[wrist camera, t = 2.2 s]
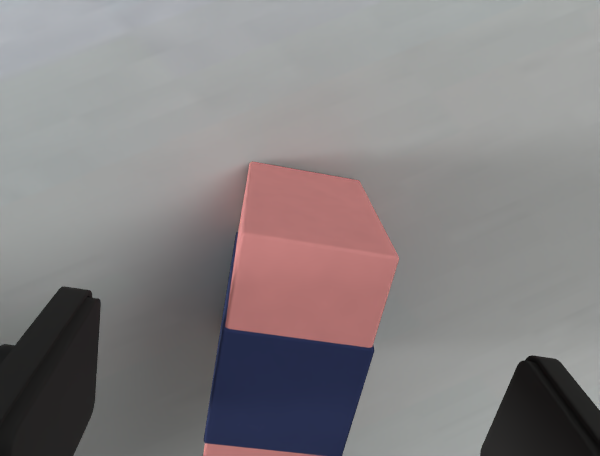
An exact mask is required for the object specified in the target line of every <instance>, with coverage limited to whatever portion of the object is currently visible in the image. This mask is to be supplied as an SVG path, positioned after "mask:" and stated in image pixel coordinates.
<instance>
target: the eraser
mask: <svg viewBox="0 0 600 456" xmlns="http://www.w3.org/2000/svg"><path fill="white" fill-rule="evenodd" d="M398 261H399V257H398V255H397V253H396V251H395V249H394V247H393V245H392V243H391V241H390V239H389V237H388V235H387V233H386V232H385V230H384V228H383V226H382V224H381V222H380V220H379V218H378V216H377V214H376V212H375V210H374V208H373V206H372V204H371V202H370V200H369V199H368V197H367V195H366V193H365V191H364V189H363V187H362V185H361V183H360V181H358V180H354V179H348V178H342V177H337V176H331V175H325V174H320V173H314V172H309V171H303V170H297V169H292V168H286V167H280V166H275V165H269V164H263V163H258V162H250V164H249V170H248V176H247V182H246V188H245V194H244V200H243V206H242V212H241V218H240V224H239V230H238V232H237V233H236V238H235V244H234V250H233V256H232V262H231V268H230V274H229V280H228V286H227V292H226V298H225V304H224V310H223V316H222V322H221V329H220V336H219V342H218V349H217V355H216V362H215V369H214V375H213V382H212V389H211V395H210V402H209V408H208V415H207V422H206V428H205V435H204V442H205V447H204V454H203V456H342V454H343V450H344V447H345V444H346V441H347V438H348V434H349V431H350V428H351V425H352V421H353V418H354V415H355V412H356V408H357V405H358V402H359V399H360V395H361V392H362V389H363V386H364V382H365V379H366V376H367V373H368V370H369V366H370V363H371V360H372V357H373V353H374V346H373V343H374V339H375V336H376V333H377V330H378V326H379V323H380V320H381V316H382V313H383V310H384V307H385V303H386V300H387V297H388V294H389V290H390V287H391V284H392V281H393V277H394V274H395V271H396V267H397V264H398Z"/></svg>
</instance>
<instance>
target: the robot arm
mask: <svg viewBox="0 0 600 456" xmlns="http://www.w3.org/2000/svg"><path fill="white" fill-rule="evenodd" d="M100 306H101V302H100V299H97V298H92V292H91V291H90V290H84V289H77V288H70V287H61V288H60V289H59V290H58V291H57V293H56V294H55V295H54V296H53V298H52V299H51V300H50V302H49V303H48V304H47V305H46V307H45V308H44V309H43V310H42V312H41V313H40V314H39V316H38V317H37V318H36V319H35V321H34V322H33V323H32V324H31V326H30V327H29V328H28V330H27V331H26V332H25V333H24V335H23V336H22V337H21V338H20V340H19V341H18V342H17V344H16V345H15V346H14V345H7V344H4V345H1V346H0V456H73V455H74V453H75V450H76V448H77V446H78V444H79V442H80V440H81V437H82V435H83V433H84V431H85V429H86V426H87V424H88V422H89V420H90V418H91V415H92V412H93V408H94V403H95V390H96V373H97V356H98V340H99V323H100ZM480 456H600V410H599V409H598V408H597V407H596V406H595V404H594V403H593V402H592V401H591V399H590V398H589V397H588V396H587V394H586V393H585V392H584V391H583V390H582V388H581V387H580V386H579V385H578V383H577V382H576V381H575V380H574V378H573V377H572V376H571V375H570V373H569V372H568V371H567V370H566V369H565V367H564V366H563V365H562V364H561V362H559V361H558V360H557V359H553V358H546V357H539V356H529V357H528V358H526V360H525V361H521V362H520V363H519V364H518V366H517V368H516V370H515V372H514V375H513V377H512V379H511V382H510V384H509V386H508V388H507V391H506V393H505V395H504V398H503V400H502V402H501V404H500V407H499V409H498V411H497V413H496V416H495V418H494V420H493V423H492V425H491V427H490V429H489V432H488V434H487V436H486V439H485V441H484V443H483V445H482V448H481V453H480Z"/></svg>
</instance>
